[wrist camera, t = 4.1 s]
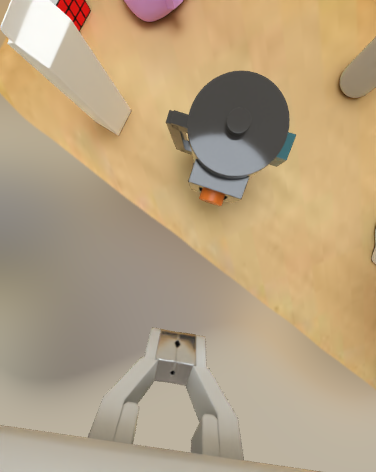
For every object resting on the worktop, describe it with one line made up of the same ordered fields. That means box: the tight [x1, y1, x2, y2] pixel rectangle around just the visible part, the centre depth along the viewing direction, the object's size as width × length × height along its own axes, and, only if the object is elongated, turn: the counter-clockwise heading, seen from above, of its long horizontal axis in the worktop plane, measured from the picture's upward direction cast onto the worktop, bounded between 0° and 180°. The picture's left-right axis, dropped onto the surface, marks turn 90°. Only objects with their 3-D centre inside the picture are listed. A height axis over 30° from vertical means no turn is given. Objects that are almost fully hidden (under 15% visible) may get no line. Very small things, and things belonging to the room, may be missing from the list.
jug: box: [166, 71, 296, 203], centre depth 30 cm, size 13×16×20 cm
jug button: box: [199, 188, 225, 206], centre depth 27 cm, size 2×3×3 cm, turn 71°
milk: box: [1, 0, 131, 135], centre depth 30 cm, size 6×6×22 cm
